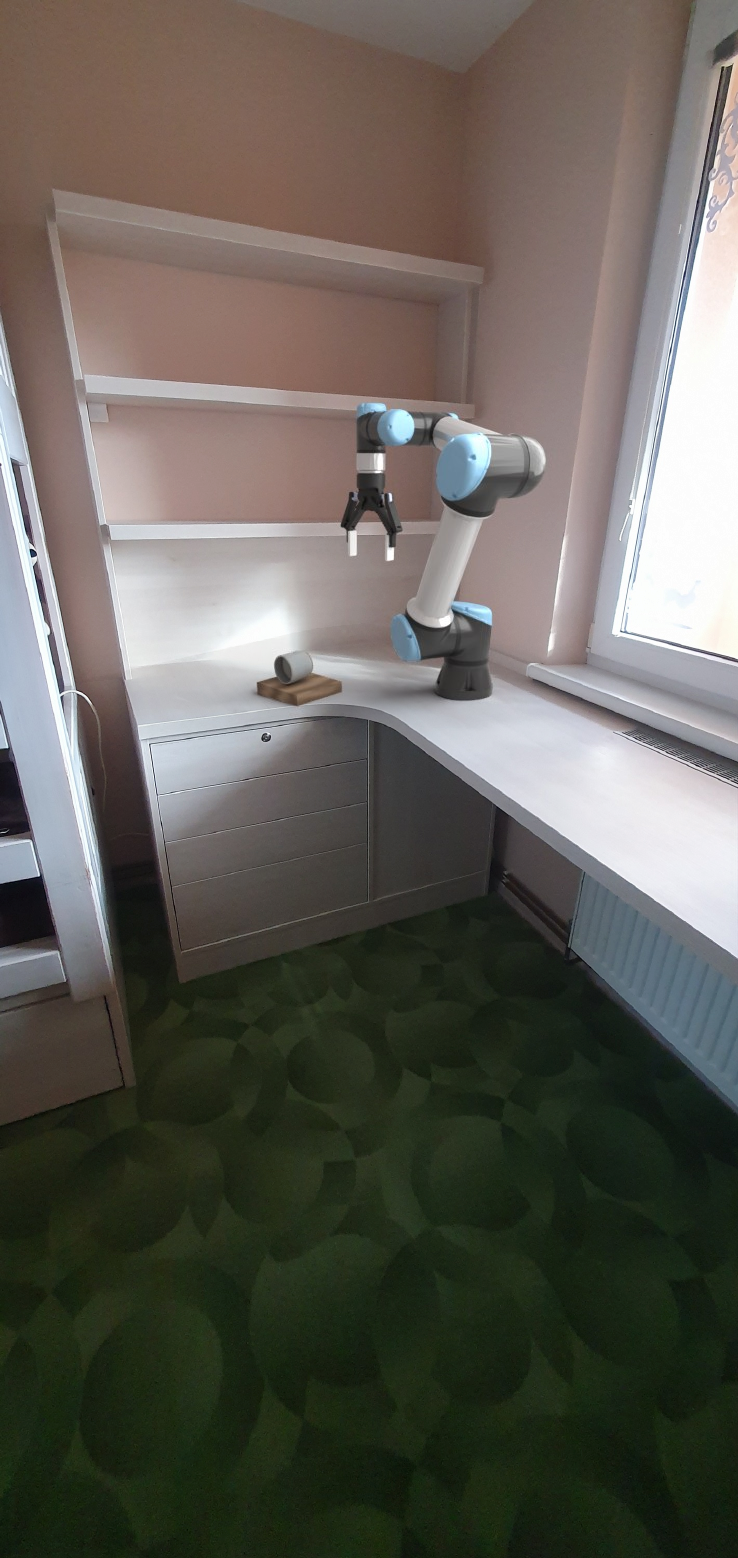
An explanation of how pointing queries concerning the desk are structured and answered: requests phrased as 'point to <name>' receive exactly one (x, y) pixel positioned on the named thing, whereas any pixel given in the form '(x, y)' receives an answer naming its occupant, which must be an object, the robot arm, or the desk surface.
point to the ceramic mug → (293, 666)
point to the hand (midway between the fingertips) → (370, 558)
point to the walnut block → (299, 689)
